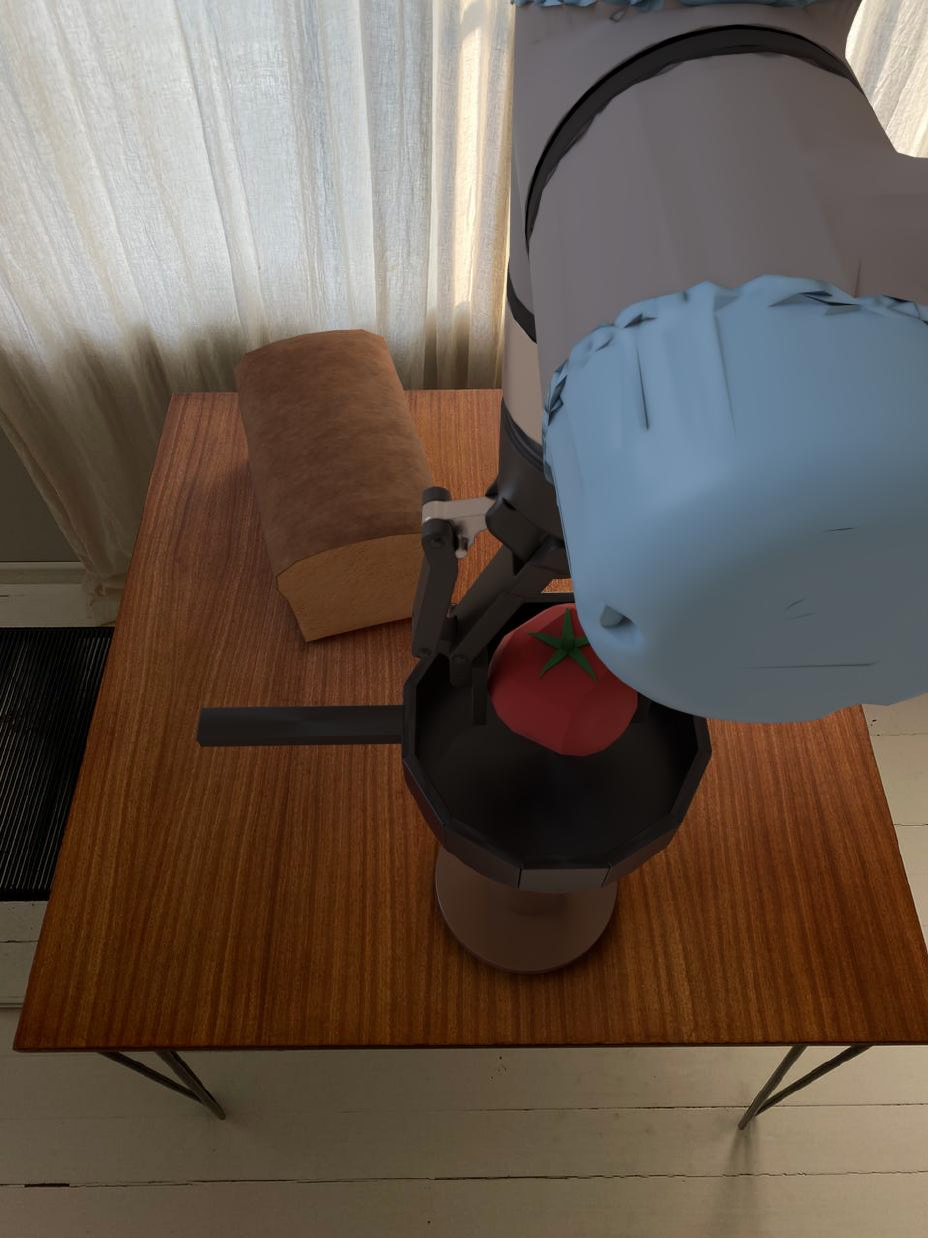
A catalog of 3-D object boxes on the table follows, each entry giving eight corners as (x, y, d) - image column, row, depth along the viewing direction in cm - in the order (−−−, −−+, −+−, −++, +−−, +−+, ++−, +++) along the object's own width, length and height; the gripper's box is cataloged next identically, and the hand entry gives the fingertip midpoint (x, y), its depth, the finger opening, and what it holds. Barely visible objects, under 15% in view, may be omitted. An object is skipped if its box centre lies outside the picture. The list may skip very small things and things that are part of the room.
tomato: (464, 716, 49) (461, 649, 43) (548, 622, 52) (557, 548, 46) (581, 801, 46) (596, 743, 40) (662, 696, 49) (688, 628, 43)
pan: (635, 983, 73) (733, 866, 46) (285, 988, 73) (172, 875, 46) (613, 785, 83) (683, 589, 55) (303, 790, 83) (219, 596, 55)
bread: (293, 650, 91) (261, 558, 78) (253, 447, 107) (221, 341, 93) (460, 610, 94) (458, 514, 80) (397, 418, 109) (386, 310, 96)
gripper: (884, 321, 32) (729, 642, 51) (314, 330, 32) (373, 647, 51) (948, 476, 28) (754, 761, 47) (296, 486, 28) (367, 767, 47)
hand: (556, 702), depth 49 cm, fingers closed on tomato, 8 cm apart
